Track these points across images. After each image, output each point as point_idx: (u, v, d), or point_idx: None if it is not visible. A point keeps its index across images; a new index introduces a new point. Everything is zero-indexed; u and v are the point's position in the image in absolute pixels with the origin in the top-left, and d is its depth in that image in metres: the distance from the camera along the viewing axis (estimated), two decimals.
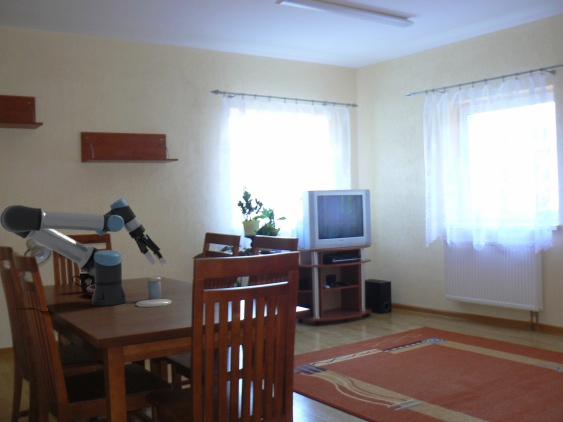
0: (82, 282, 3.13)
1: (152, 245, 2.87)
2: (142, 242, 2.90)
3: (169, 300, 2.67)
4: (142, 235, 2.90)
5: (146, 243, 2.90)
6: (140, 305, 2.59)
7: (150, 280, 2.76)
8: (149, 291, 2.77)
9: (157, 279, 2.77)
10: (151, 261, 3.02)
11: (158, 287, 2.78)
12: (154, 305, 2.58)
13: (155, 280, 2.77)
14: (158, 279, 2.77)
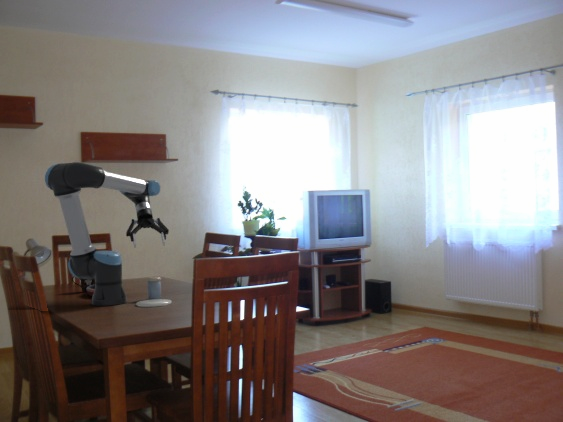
0: (82, 282, 3.13)
1: None
2: (152, 221, 2.98)
3: (169, 300, 2.67)
4: (153, 219, 3.01)
5: (154, 224, 2.98)
6: (140, 305, 2.59)
7: (150, 280, 2.76)
8: (149, 291, 2.77)
9: (157, 279, 2.77)
10: (135, 242, 2.88)
11: (158, 287, 2.78)
12: (154, 305, 2.58)
13: (155, 280, 2.77)
14: (158, 279, 2.77)
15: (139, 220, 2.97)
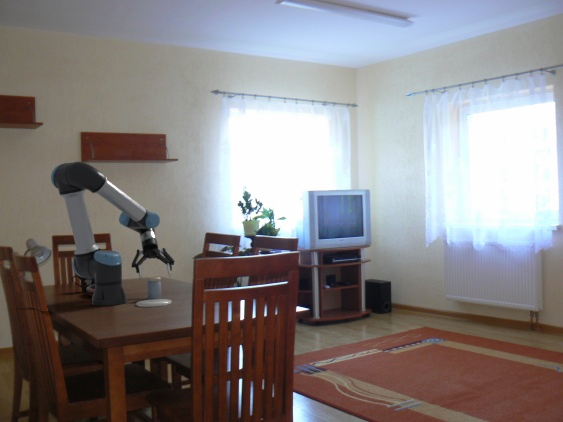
0: (82, 282, 3.13)
1: None
2: (157, 251, 2.94)
3: (169, 300, 2.67)
4: (158, 249, 2.97)
5: None
6: (140, 305, 2.59)
7: (150, 280, 2.76)
8: (149, 291, 2.77)
9: (157, 279, 2.77)
10: None
11: (158, 287, 2.78)
12: (154, 305, 2.58)
13: (155, 280, 2.77)
14: (158, 279, 2.77)
15: (144, 250, 2.93)
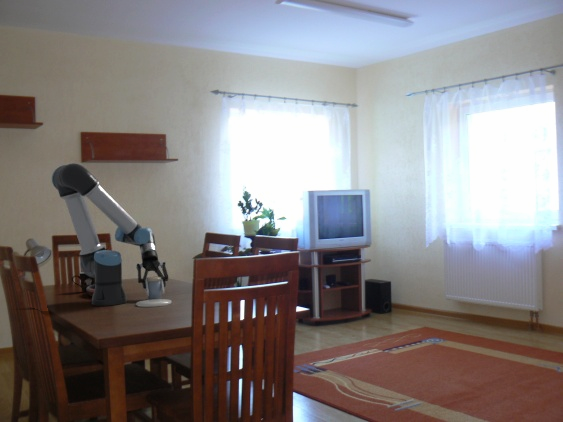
0: (82, 282, 3.13)
1: None
2: (156, 264, 2.86)
3: (169, 300, 2.67)
4: (159, 262, 2.89)
5: None
6: (140, 305, 2.59)
7: (150, 280, 2.76)
8: (149, 291, 2.77)
9: (157, 279, 2.77)
10: None
11: (158, 287, 2.78)
12: (154, 305, 2.58)
13: (155, 280, 2.77)
14: (158, 279, 2.77)
15: (144, 263, 2.86)
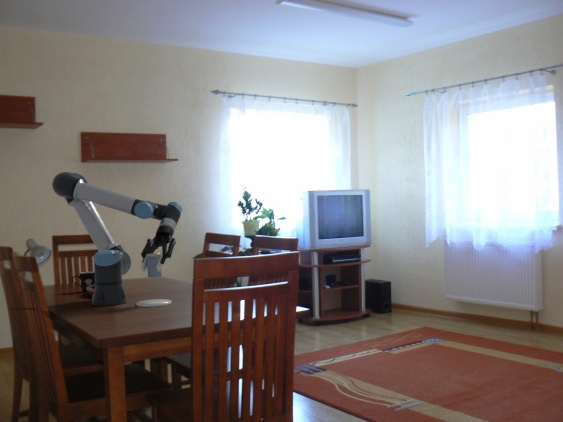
0: (82, 282, 3.13)
1: (171, 249, 2.68)
2: (164, 240, 2.71)
3: (169, 300, 2.67)
4: (171, 237, 2.74)
5: (165, 244, 2.71)
6: (140, 305, 2.59)
7: (147, 256, 2.64)
8: (147, 267, 2.65)
9: (152, 255, 2.63)
10: (144, 265, 2.64)
11: (154, 264, 2.63)
12: (154, 305, 2.58)
13: (150, 256, 2.63)
14: (154, 255, 2.63)
15: (155, 238, 2.74)
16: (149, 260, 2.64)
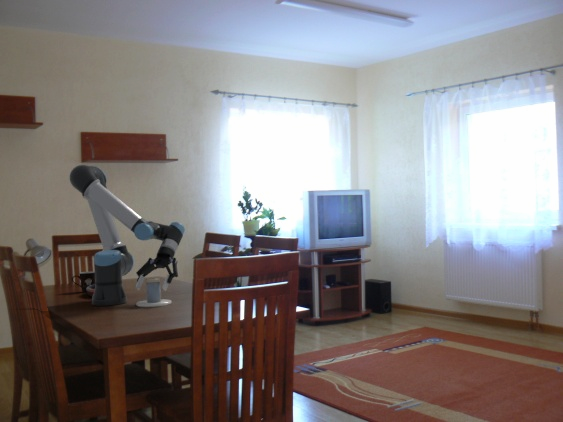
0: (82, 282, 3.13)
1: (176, 268, 2.67)
2: (165, 261, 2.70)
3: (169, 300, 2.67)
4: (171, 258, 2.72)
5: (167, 265, 2.69)
6: (140, 305, 2.59)
7: (146, 281, 2.63)
8: None
9: (151, 281, 2.62)
10: (138, 284, 2.65)
11: (153, 289, 2.62)
12: (154, 305, 2.58)
13: (149, 282, 2.62)
14: (153, 281, 2.62)
15: (155, 259, 2.73)
16: (148, 286, 2.62)
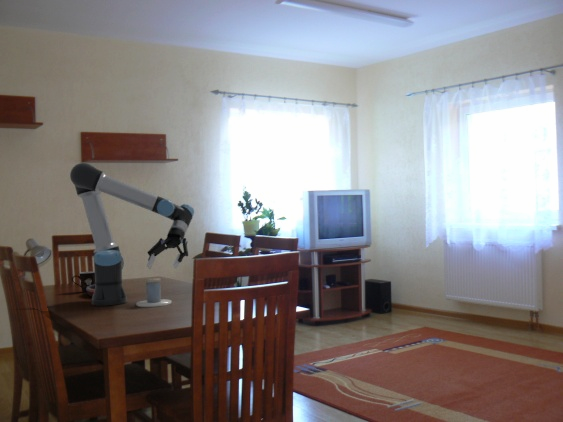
0: (82, 282, 3.13)
1: (186, 248, 2.76)
2: (176, 241, 2.79)
3: (169, 300, 2.67)
4: (181, 239, 2.81)
5: (178, 244, 2.78)
6: (140, 305, 2.59)
7: (146, 281, 2.63)
8: None
9: (151, 281, 2.62)
10: (150, 263, 2.75)
11: (153, 289, 2.62)
12: (154, 305, 2.58)
13: (149, 282, 2.62)
14: (153, 281, 2.62)
15: (166, 239, 2.82)
16: (148, 286, 2.62)
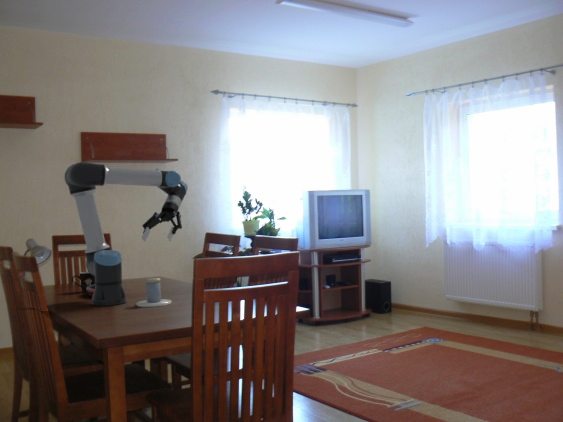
0: (82, 282, 3.13)
1: (180, 221, 2.86)
2: (170, 214, 2.89)
3: (169, 300, 2.67)
4: (175, 212, 2.92)
5: (172, 218, 2.88)
6: (140, 305, 2.59)
7: (146, 281, 2.63)
8: None
9: (151, 281, 2.62)
10: (145, 235, 2.85)
11: (153, 289, 2.62)
12: (154, 305, 2.58)
13: (149, 282, 2.62)
14: (153, 281, 2.62)
15: (160, 213, 2.92)
16: (148, 286, 2.62)
